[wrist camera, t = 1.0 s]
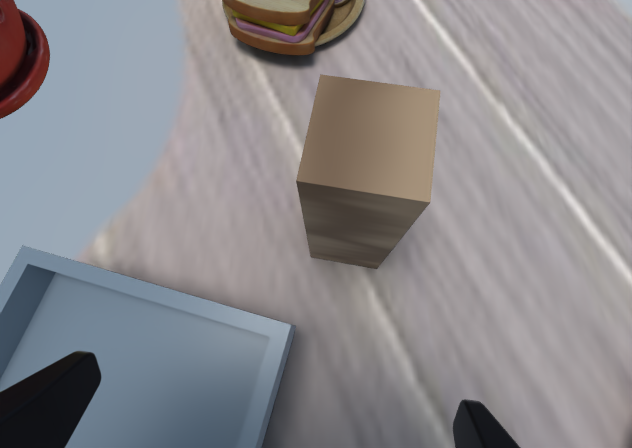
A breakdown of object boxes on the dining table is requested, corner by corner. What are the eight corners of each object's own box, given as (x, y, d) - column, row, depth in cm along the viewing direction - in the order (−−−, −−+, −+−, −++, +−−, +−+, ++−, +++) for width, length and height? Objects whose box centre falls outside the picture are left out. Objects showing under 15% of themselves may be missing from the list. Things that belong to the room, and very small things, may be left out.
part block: (385, 206, 24) (440, 90, 12) (376, 268, 22) (430, 202, 11) (322, 196, 24) (320, 74, 13) (310, 256, 23) (296, 180, 11)
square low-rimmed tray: (299, 326, 21) (291, 324, 16) (221, 600, 17) (178, 712, 12) (90, 264, 23) (22, 245, 18) (-26, 501, 19) (-157, 564, 14)
